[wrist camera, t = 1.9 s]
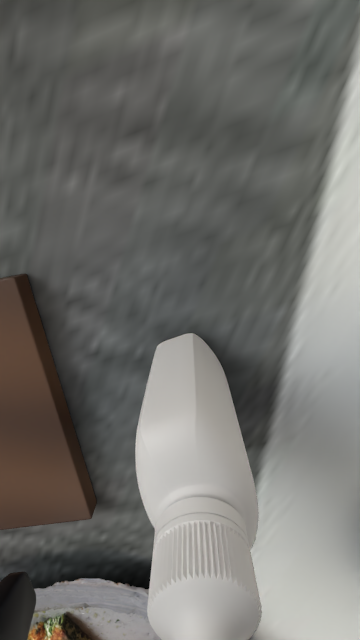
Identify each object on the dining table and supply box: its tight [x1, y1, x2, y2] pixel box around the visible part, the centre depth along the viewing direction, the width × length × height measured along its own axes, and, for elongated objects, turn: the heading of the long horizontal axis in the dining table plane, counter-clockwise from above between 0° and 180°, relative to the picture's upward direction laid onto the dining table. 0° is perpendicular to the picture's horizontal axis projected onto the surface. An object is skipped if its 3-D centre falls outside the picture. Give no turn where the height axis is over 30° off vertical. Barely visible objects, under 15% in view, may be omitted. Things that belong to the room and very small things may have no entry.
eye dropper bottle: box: [135, 333, 262, 640], centre depth 11 cm, size 4×6×12 cm
